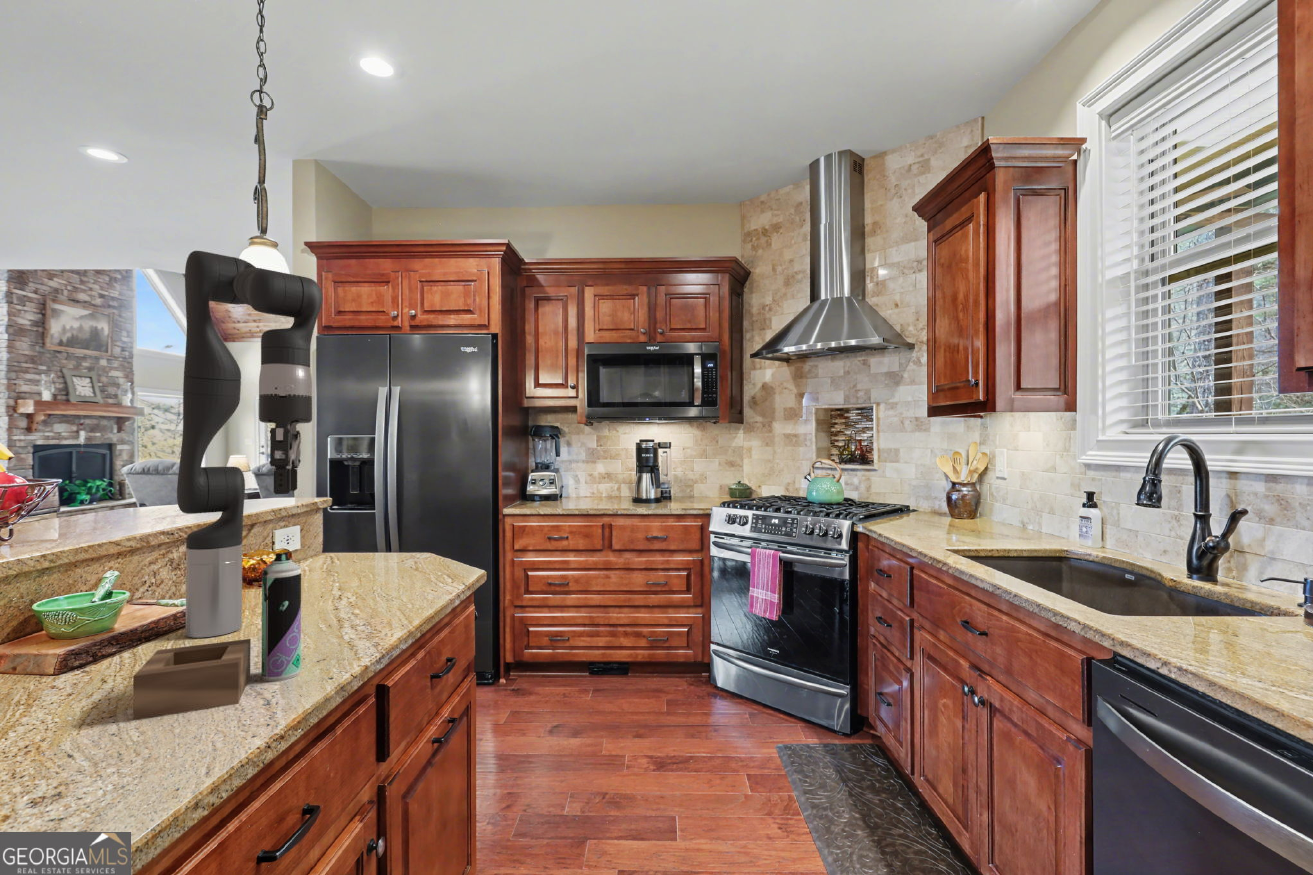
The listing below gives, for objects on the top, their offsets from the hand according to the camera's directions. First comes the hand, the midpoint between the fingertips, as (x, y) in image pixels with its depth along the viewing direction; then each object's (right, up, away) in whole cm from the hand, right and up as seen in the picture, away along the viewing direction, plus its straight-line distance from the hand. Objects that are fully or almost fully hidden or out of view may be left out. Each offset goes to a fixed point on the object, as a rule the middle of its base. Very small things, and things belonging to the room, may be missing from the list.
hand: (286, 492), depth 101 cm
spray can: (0, -30, -1) cm, 30 cm away
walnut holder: (-8, -30, -9) cm, 32 cm away
